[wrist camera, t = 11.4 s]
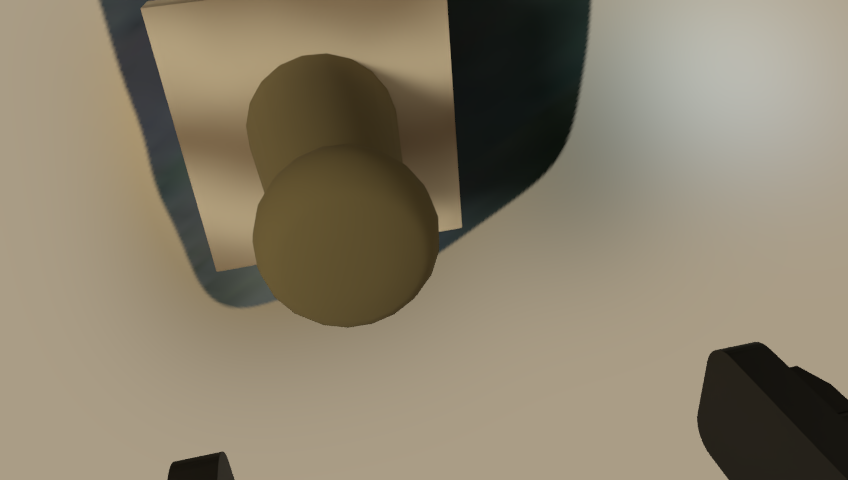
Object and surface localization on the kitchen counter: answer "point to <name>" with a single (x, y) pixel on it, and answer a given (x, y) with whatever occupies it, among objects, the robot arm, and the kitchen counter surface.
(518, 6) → the kitchen counter surface
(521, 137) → the kitchen counter surface
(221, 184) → the birch stool
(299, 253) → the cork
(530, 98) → the kitchen counter surface
